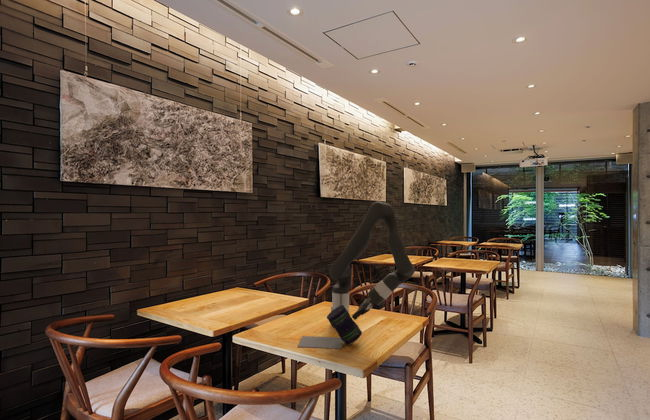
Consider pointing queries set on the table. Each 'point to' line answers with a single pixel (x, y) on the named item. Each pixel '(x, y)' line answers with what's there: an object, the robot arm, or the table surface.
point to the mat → (321, 342)
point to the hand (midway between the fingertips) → (353, 318)
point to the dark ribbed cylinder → (344, 325)
